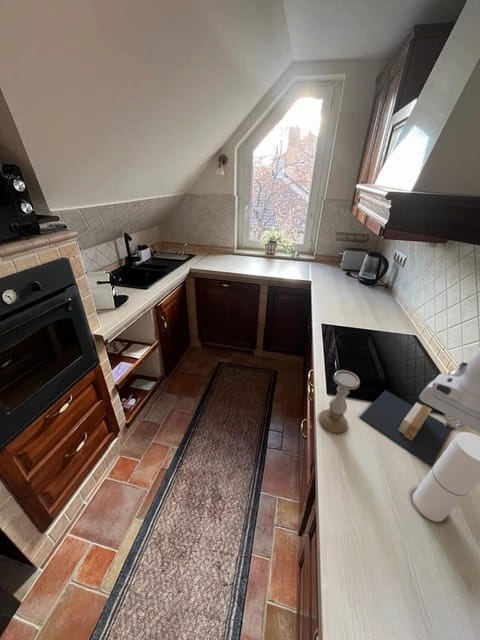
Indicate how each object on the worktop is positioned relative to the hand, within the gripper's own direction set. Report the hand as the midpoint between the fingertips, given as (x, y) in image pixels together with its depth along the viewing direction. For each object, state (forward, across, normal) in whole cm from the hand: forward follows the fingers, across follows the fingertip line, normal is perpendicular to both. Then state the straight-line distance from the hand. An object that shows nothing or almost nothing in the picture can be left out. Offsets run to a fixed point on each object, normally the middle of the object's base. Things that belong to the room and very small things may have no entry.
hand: (450, 427), depth 76 cm
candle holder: (+9, +26, +19) cm, 33 cm away
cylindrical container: (+9, -4, +22) cm, 24 cm away
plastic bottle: (+8, +4, -18) cm, 20 cm away
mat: (+8, +10, 0) cm, 13 cm away
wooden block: (+8, +8, 0) cm, 11 cm away
